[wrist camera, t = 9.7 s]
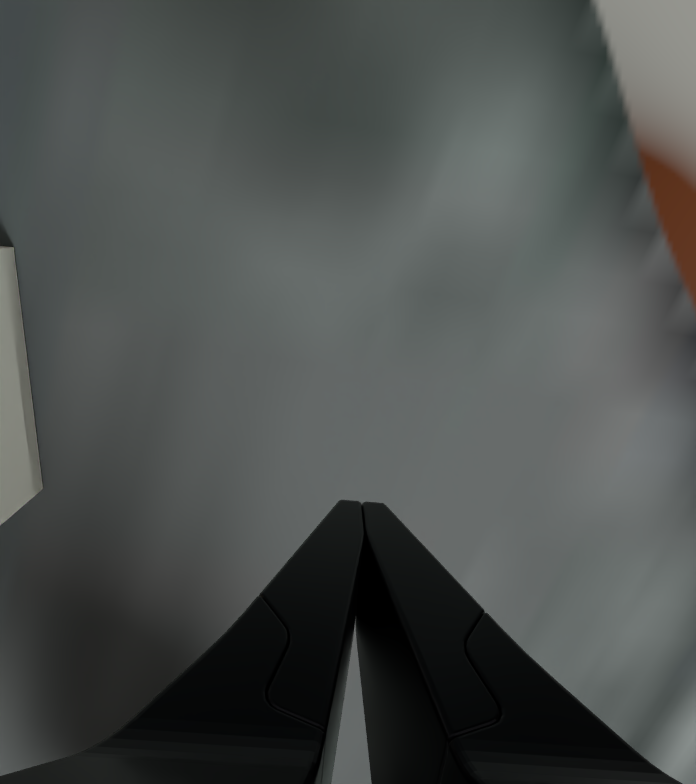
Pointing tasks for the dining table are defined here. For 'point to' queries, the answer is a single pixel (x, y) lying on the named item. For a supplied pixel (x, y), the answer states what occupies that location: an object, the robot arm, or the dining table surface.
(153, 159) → the dining table surface
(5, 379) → the shell lid
